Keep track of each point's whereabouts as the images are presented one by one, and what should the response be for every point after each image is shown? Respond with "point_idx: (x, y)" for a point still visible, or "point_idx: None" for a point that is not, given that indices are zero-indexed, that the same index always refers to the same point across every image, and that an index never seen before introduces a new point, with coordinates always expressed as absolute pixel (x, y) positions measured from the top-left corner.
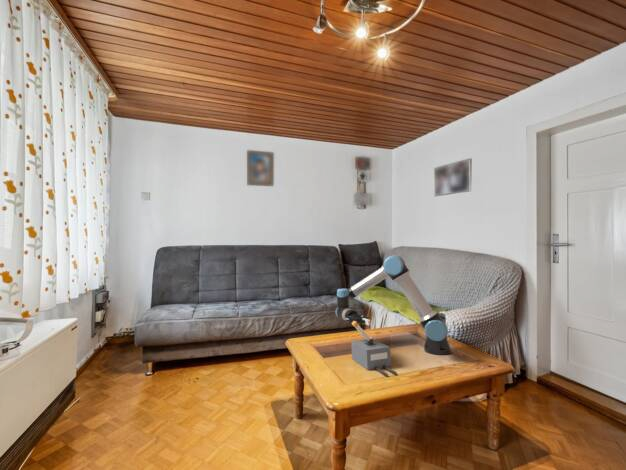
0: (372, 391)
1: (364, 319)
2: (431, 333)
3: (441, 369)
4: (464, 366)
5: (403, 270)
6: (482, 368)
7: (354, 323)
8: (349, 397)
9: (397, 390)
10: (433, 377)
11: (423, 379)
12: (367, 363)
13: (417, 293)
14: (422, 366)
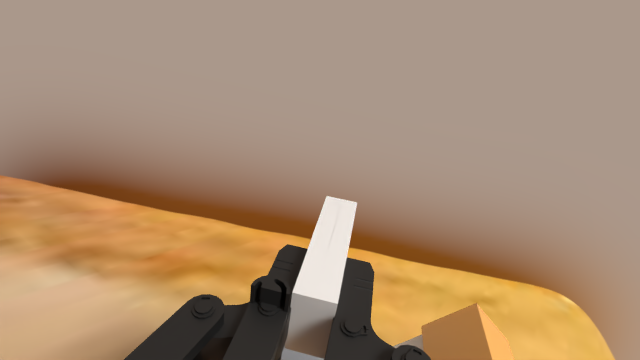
0: (436, 286)
1: (345, 259)
2: None
3: (94, 249)
4: (11, 221)
5: None
6: (11, 193)
7: (497, 331)
8: (521, 300)
9: (363, 254)
10: (196, 239)
11: (235, 248)
12: None
13: None
14: (95, 300)
